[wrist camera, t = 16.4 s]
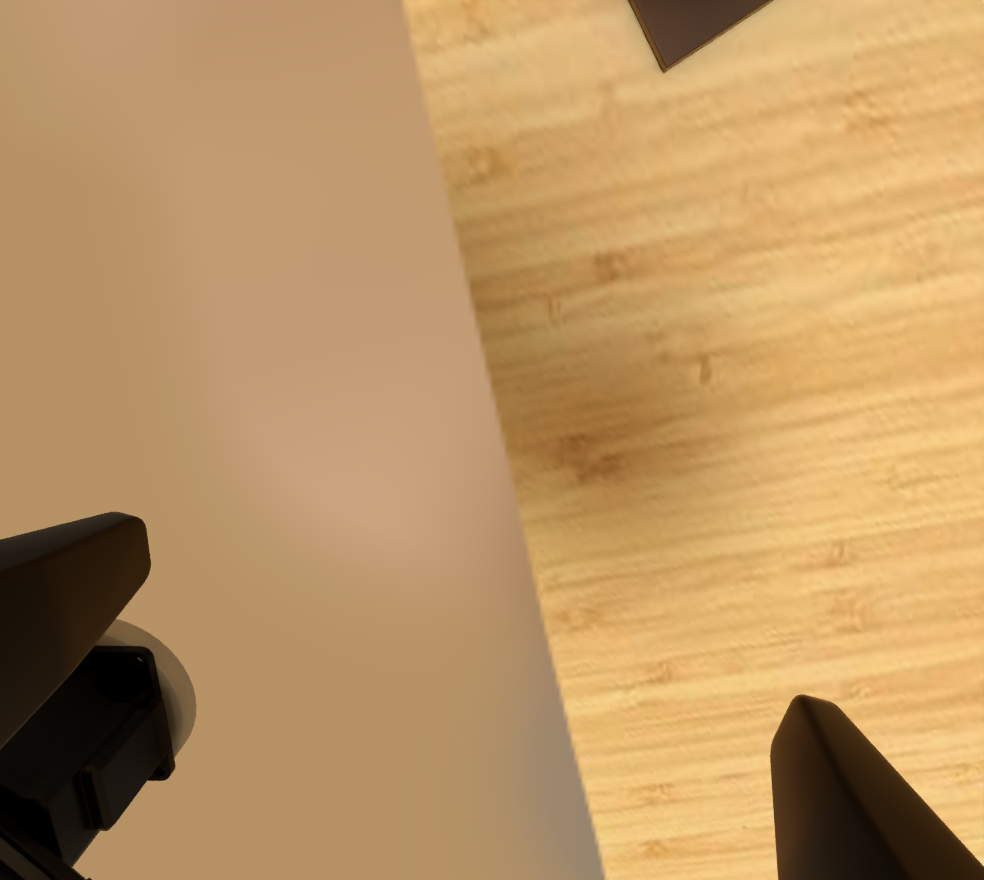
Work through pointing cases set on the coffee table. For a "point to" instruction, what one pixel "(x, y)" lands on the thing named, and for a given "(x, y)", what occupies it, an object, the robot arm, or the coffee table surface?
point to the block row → (688, 24)
